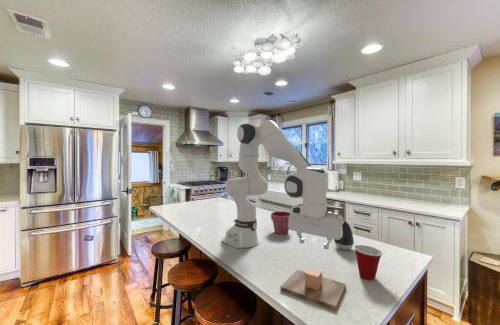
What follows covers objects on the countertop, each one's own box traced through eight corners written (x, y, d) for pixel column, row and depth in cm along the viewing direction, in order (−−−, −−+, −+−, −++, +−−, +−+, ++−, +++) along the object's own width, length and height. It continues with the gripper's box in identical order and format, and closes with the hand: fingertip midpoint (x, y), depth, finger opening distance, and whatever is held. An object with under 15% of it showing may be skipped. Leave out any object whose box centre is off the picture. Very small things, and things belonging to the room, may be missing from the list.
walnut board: (280, 290, 85) (280, 286, 85) (296, 272, 98) (296, 269, 98) (335, 310, 74) (335, 306, 74) (345, 287, 87) (345, 283, 87)
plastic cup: (388, 283, 90) (389, 253, 90) (363, 284, 89) (363, 254, 89) (371, 270, 101) (372, 243, 101) (348, 271, 100) (349, 244, 100)
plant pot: (266, 231, 154) (266, 213, 154) (280, 227, 163) (280, 210, 163) (282, 237, 143) (282, 217, 143) (296, 232, 152) (296, 213, 152)
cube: (304, 286, 85) (304, 273, 85) (309, 280, 89) (309, 267, 89) (317, 290, 82) (318, 276, 82) (321, 284, 87) (322, 271, 87)
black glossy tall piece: (334, 250, 123) (334, 222, 123) (333, 243, 133) (334, 218, 132) (354, 253, 119) (354, 224, 119) (352, 246, 129) (353, 219, 129)
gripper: (345, 212, 82) (344, 249, 83) (293, 204, 94) (292, 237, 94) (341, 215, 77) (340, 255, 78) (286, 207, 89) (286, 242, 89)
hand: (313, 245), depth 86 cm, fingers open, 8 cm apart
